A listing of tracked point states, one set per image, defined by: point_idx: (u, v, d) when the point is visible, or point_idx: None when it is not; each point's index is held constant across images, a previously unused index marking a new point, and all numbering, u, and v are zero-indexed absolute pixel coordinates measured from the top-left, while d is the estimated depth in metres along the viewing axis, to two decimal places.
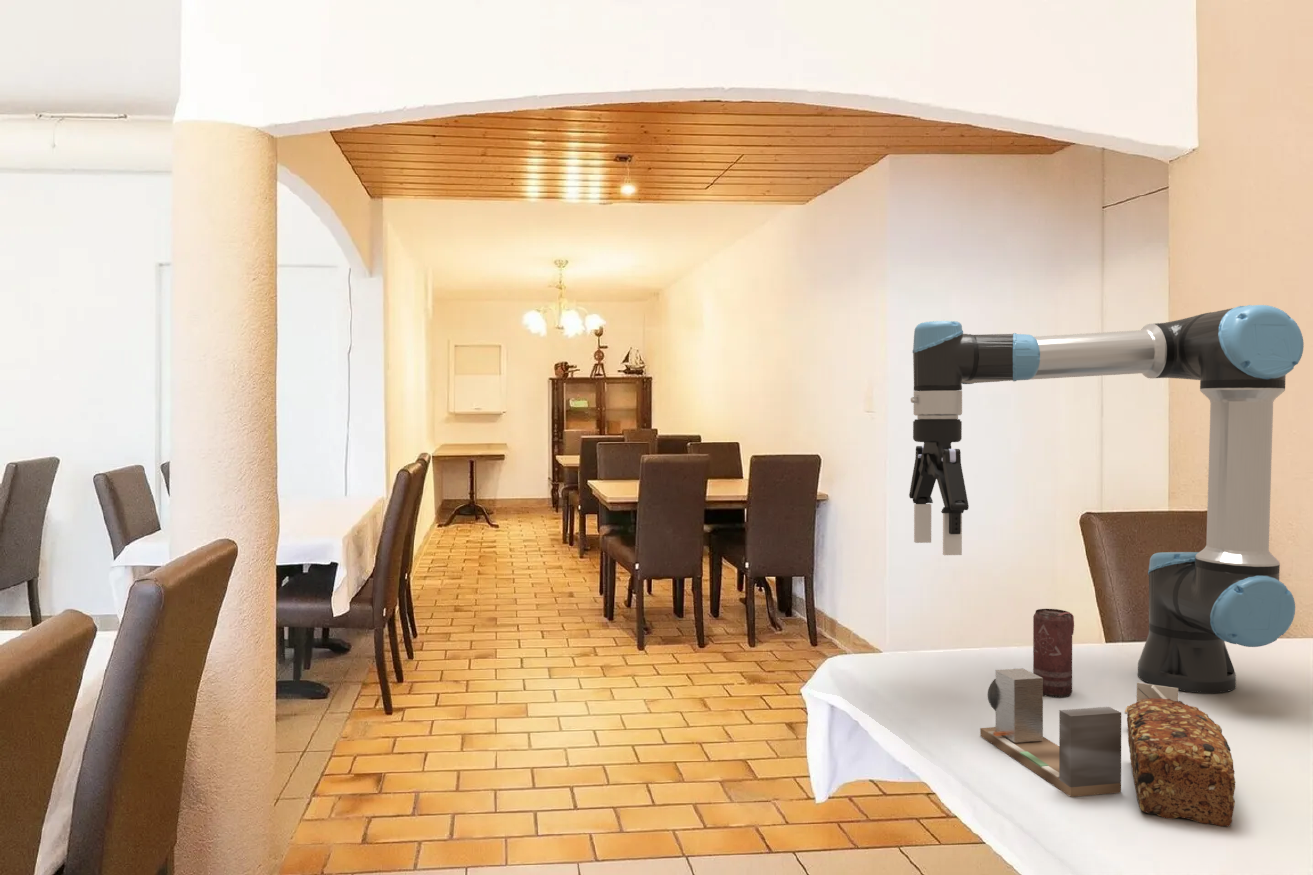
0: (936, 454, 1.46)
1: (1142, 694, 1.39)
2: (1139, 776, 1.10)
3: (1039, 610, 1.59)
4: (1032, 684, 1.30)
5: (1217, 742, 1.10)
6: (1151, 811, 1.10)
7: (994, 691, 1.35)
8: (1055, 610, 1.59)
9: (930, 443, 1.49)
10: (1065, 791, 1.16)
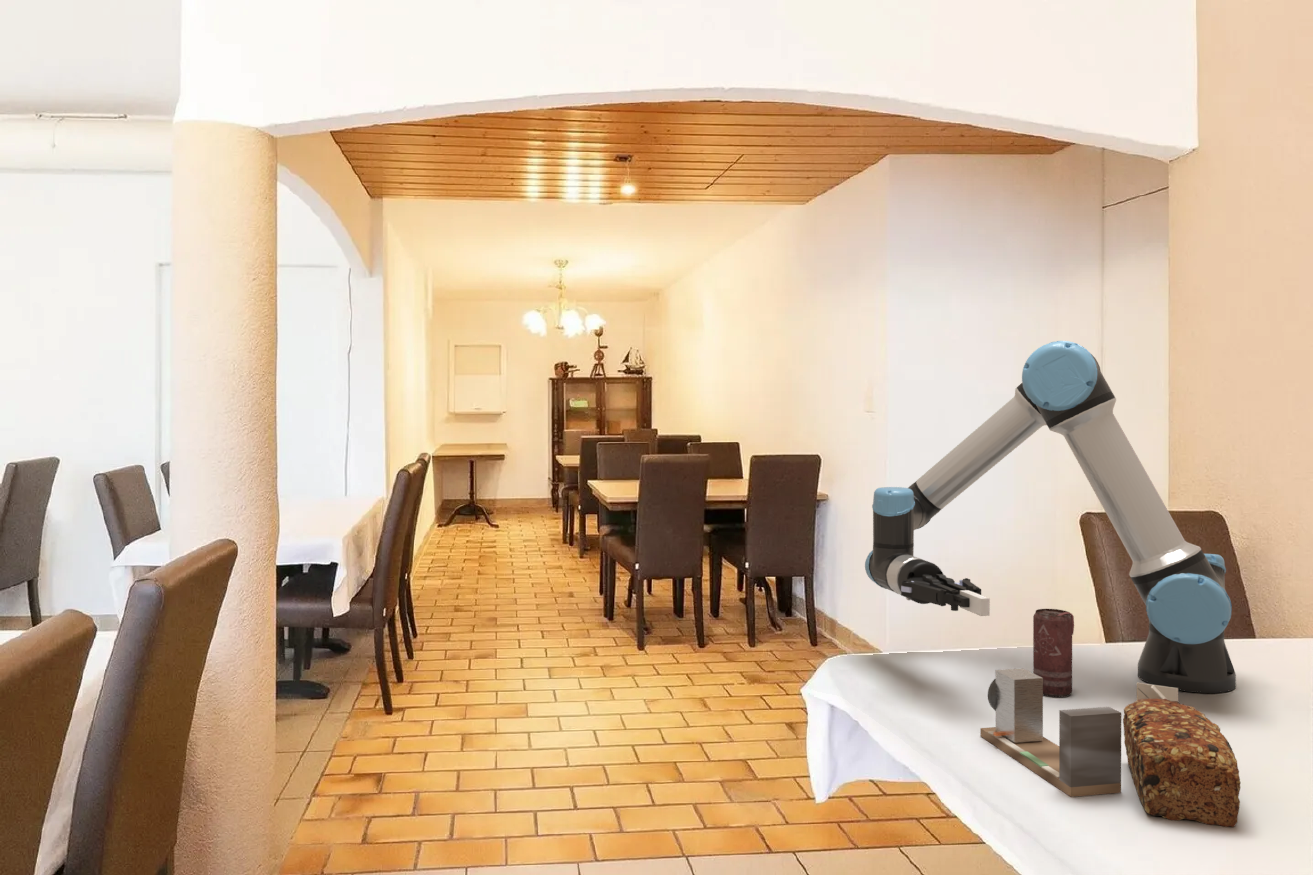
0: None
1: (1142, 694, 1.39)
2: (1145, 778, 1.09)
3: (1039, 610, 1.59)
4: (1032, 684, 1.30)
5: (1219, 742, 1.10)
6: (1157, 813, 1.09)
7: (994, 691, 1.35)
8: (1055, 610, 1.59)
9: None
10: (1065, 791, 1.16)
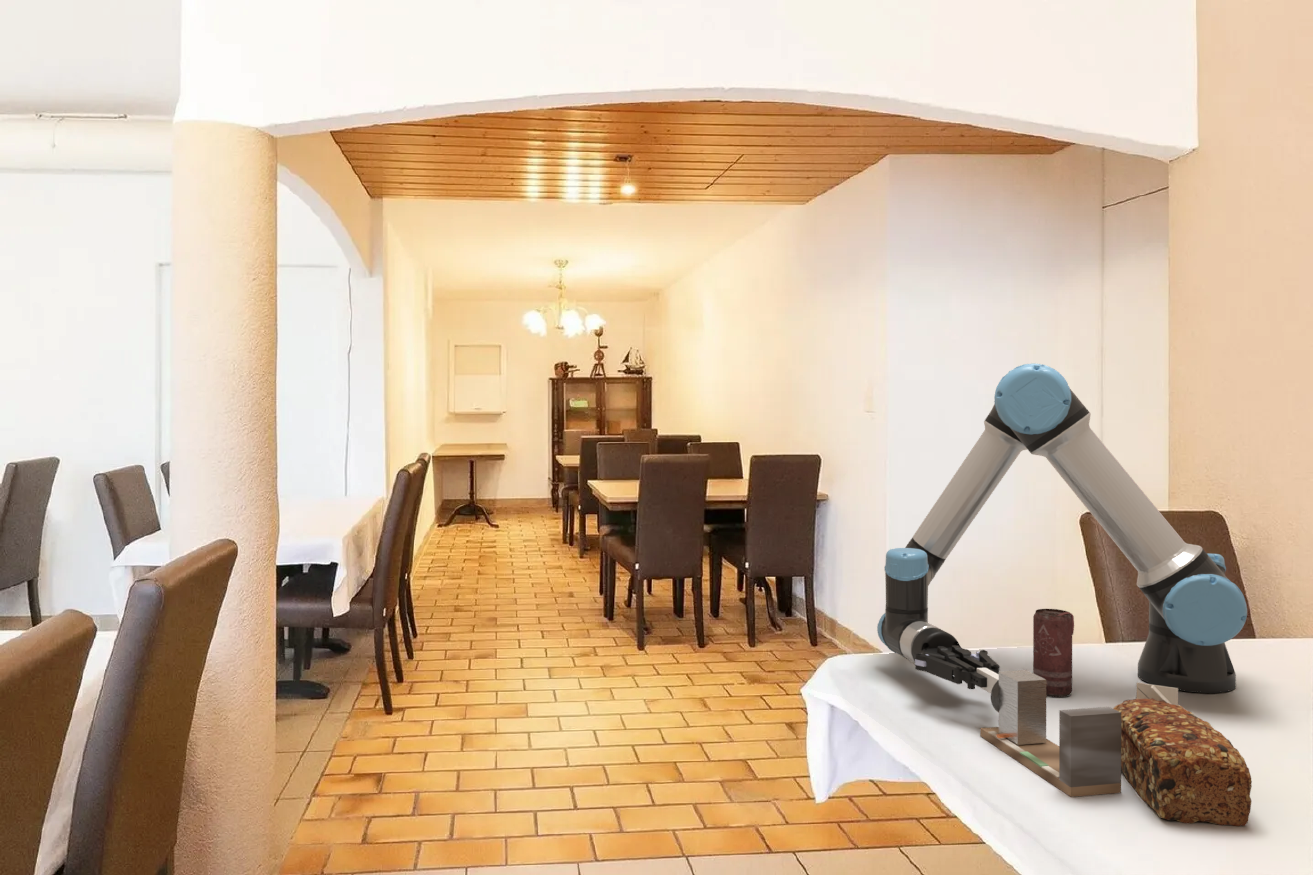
0: None
1: (1142, 694, 1.39)
2: (1160, 783, 1.08)
3: (1039, 610, 1.59)
4: (1035, 686, 1.29)
5: (1223, 741, 1.11)
6: (1172, 817, 1.08)
7: (997, 693, 1.34)
8: (1055, 610, 1.59)
9: None
10: (1065, 791, 1.16)
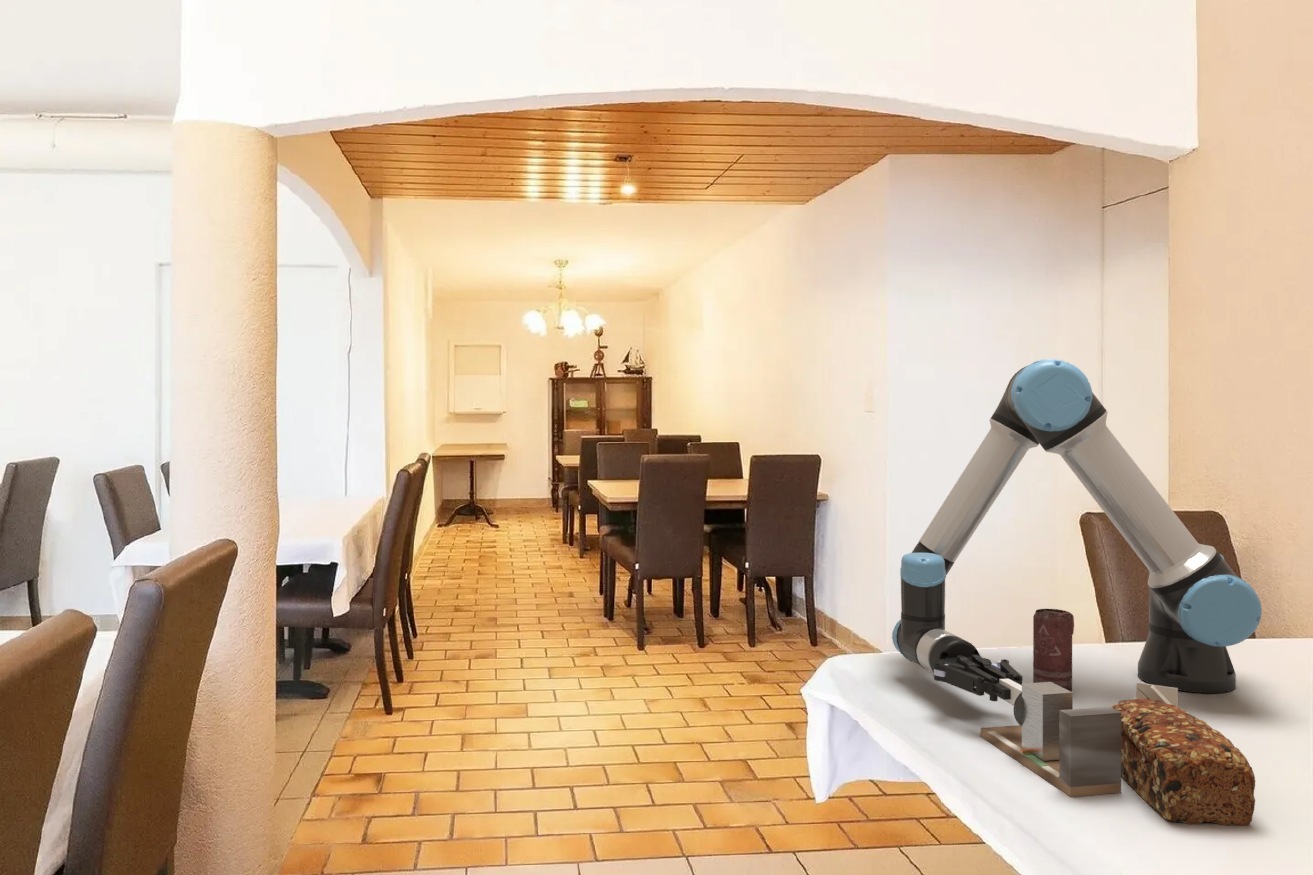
0: None
1: (1142, 694, 1.39)
2: (1167, 785, 1.07)
3: (1039, 610, 1.59)
4: (1061, 699, 1.24)
5: (1225, 741, 1.11)
6: (1178, 819, 1.07)
7: (1020, 706, 1.28)
8: (1055, 610, 1.59)
9: None
10: (1065, 791, 1.16)
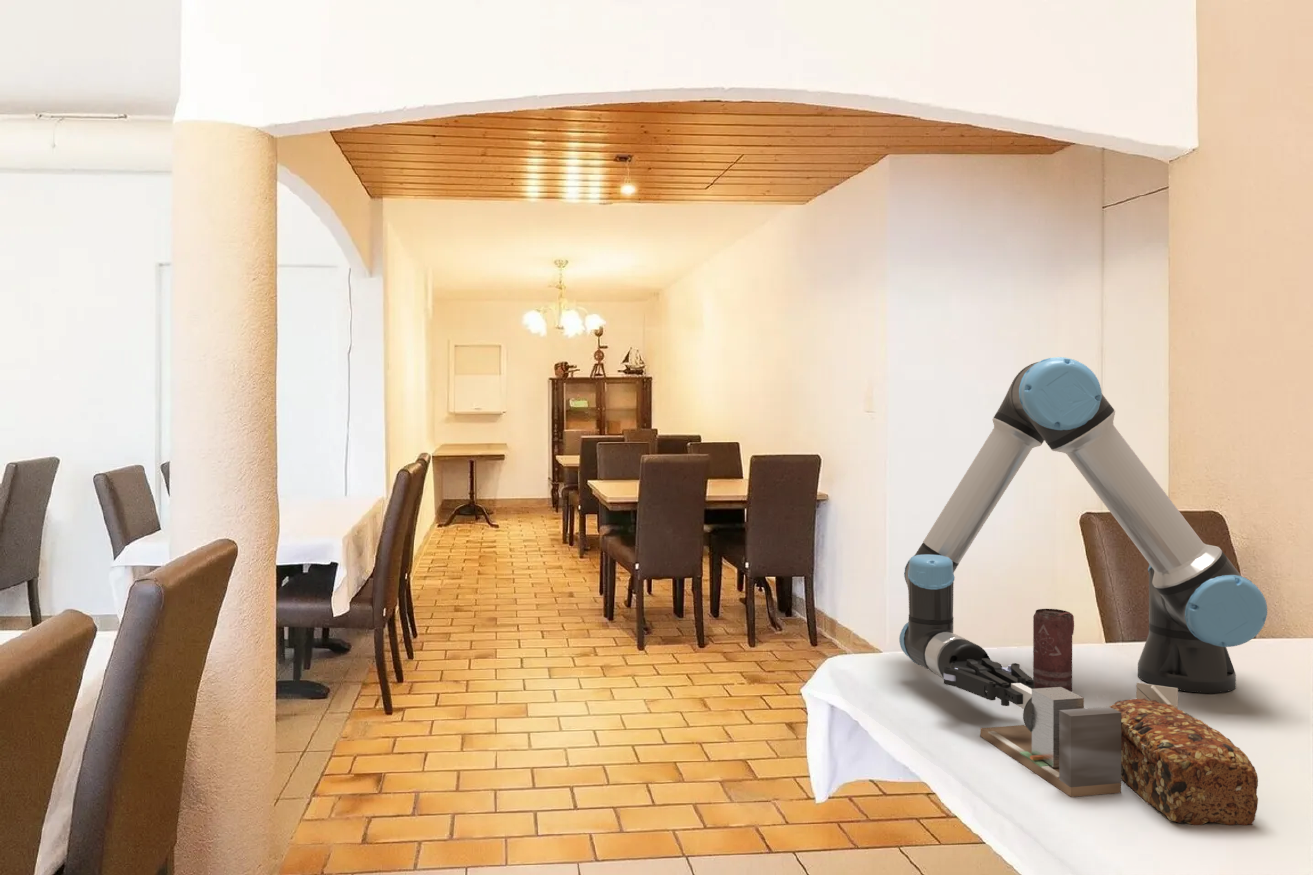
0: None
1: (1142, 694, 1.39)
2: (1172, 786, 1.07)
3: (1039, 610, 1.59)
4: (1072, 704, 1.21)
5: (1226, 740, 1.11)
6: (1182, 820, 1.07)
7: (1030, 711, 1.26)
8: (1055, 610, 1.59)
9: None
10: (1065, 791, 1.16)
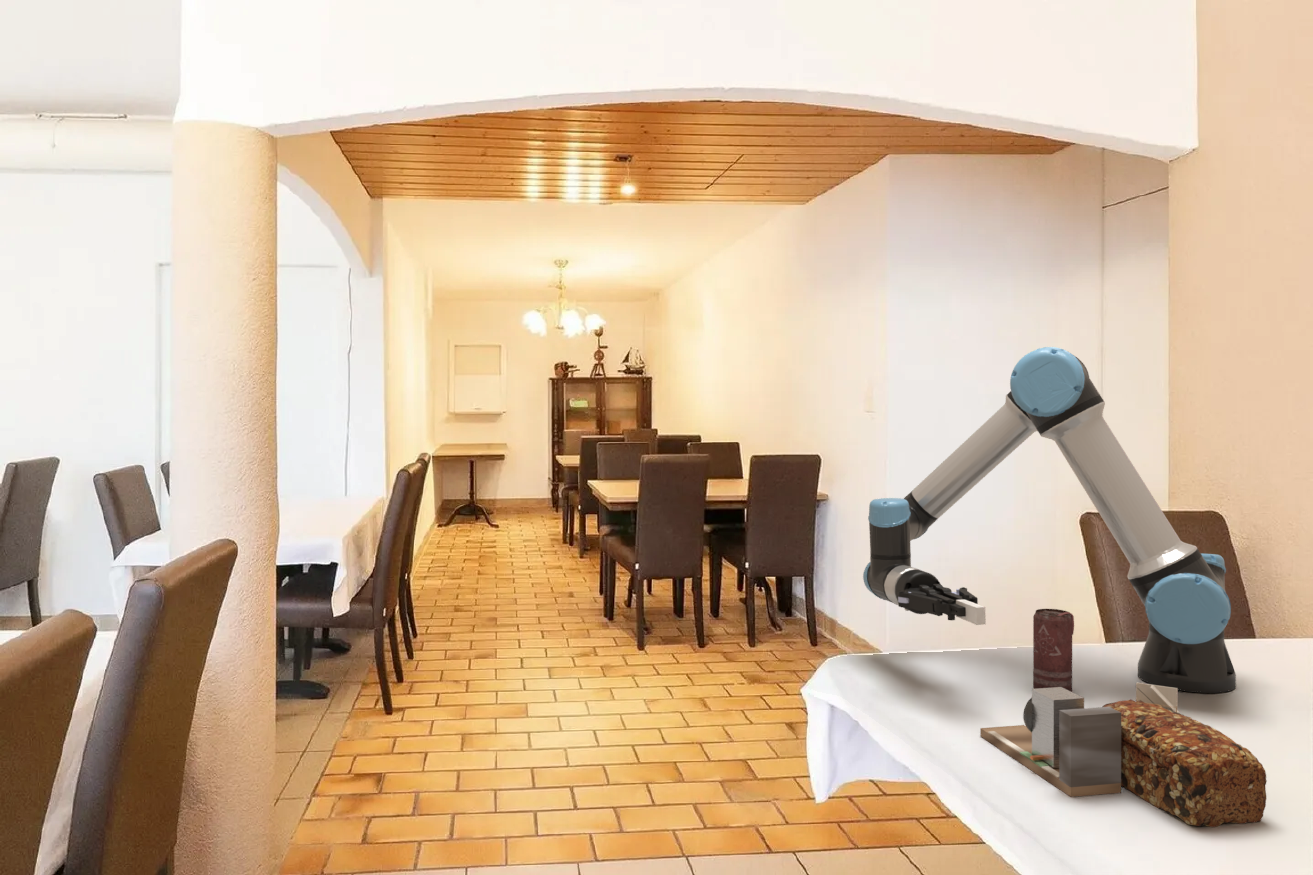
0: None
1: (1141, 694, 1.39)
2: (1193, 790, 1.06)
3: (1039, 610, 1.59)
4: (1073, 704, 1.21)
5: (1228, 738, 1.12)
6: (1202, 823, 1.06)
7: (1030, 711, 1.26)
8: (1055, 610, 1.59)
9: None
10: (1065, 791, 1.16)
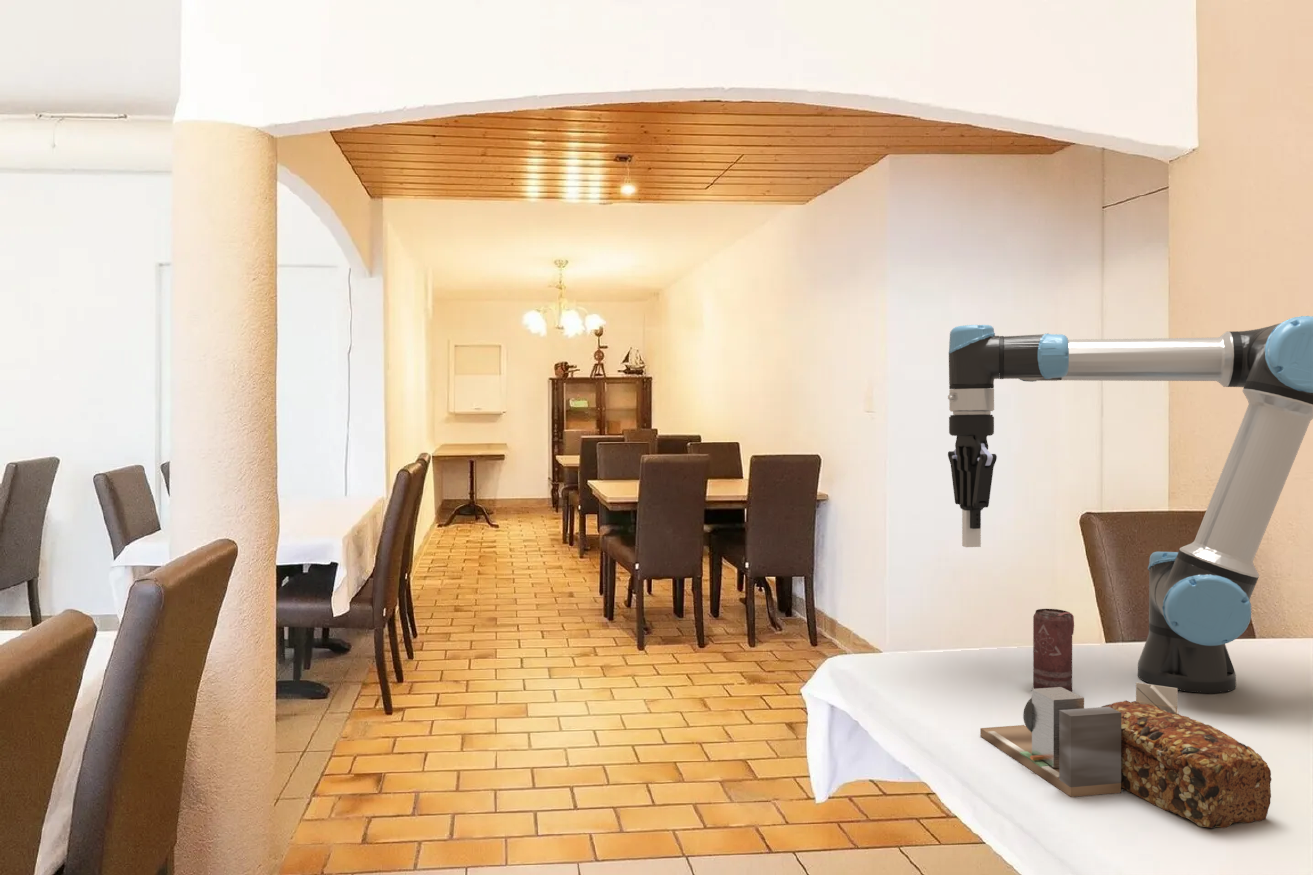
0: (973, 446, 1.59)
1: (1141, 694, 1.39)
2: (1207, 792, 1.05)
3: (1039, 610, 1.59)
4: (1073, 704, 1.21)
5: (1230, 737, 1.12)
6: (1214, 824, 1.06)
7: (1030, 711, 1.26)
8: (1055, 610, 1.59)
9: (965, 437, 1.62)
10: (1065, 791, 1.16)
